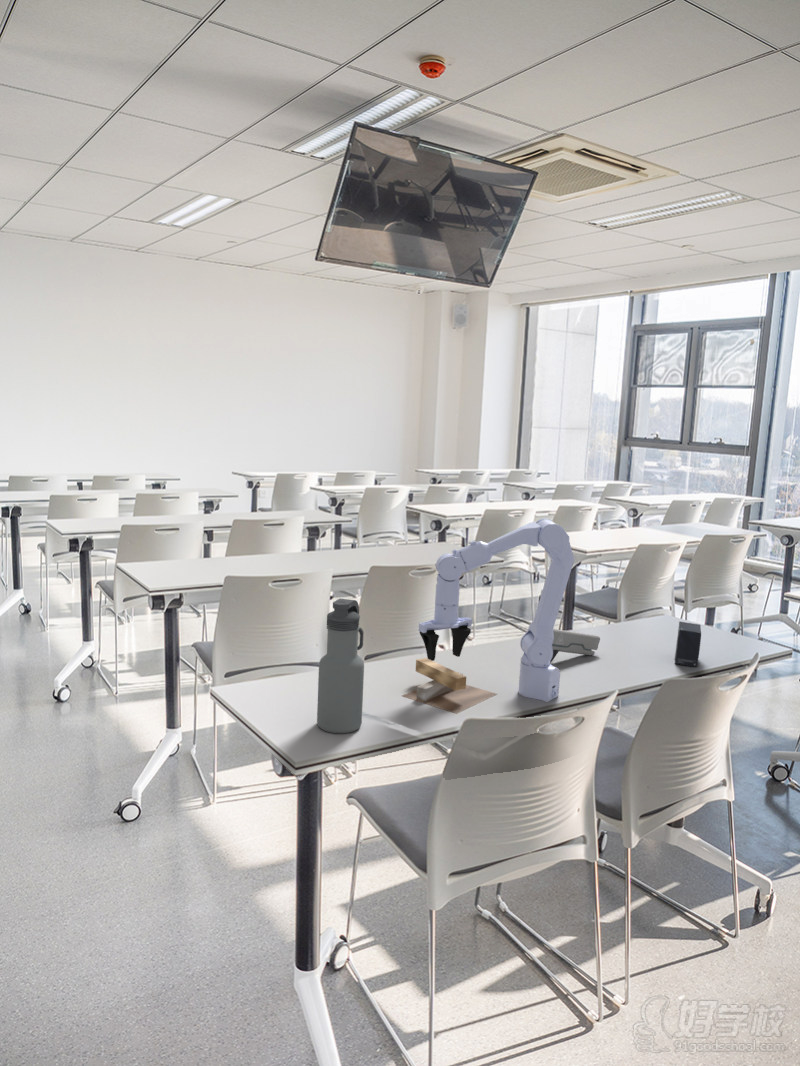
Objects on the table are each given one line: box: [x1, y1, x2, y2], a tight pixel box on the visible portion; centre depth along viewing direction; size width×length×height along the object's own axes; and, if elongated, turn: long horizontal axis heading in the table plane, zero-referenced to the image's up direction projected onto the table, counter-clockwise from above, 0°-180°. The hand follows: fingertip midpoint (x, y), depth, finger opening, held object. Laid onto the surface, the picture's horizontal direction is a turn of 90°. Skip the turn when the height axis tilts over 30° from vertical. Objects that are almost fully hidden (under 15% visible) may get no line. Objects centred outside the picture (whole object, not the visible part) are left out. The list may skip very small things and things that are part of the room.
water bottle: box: [316, 598, 365, 734], centre depth 175 cm, size 10×10×28 cm
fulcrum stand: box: [401, 671, 498, 714], centre depth 197 cm, size 16×18×4 cm
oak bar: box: [415, 657, 467, 691], centre depth 198 cm, size 16×3×3 cm, turn 36°
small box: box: [674, 621, 702, 668], centre depth 237 cm, size 11×6×10 cm, turn 161°
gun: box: [550, 628, 601, 665], centre depth 233 cm, size 2×25×10 cm, turn 125°
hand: (443, 657), depth 199 cm, fingers open, 7 cm apart
